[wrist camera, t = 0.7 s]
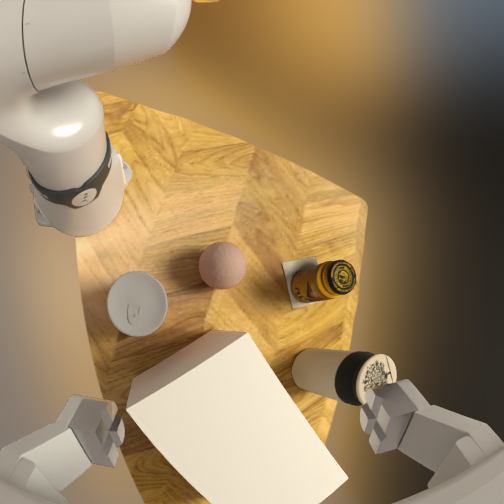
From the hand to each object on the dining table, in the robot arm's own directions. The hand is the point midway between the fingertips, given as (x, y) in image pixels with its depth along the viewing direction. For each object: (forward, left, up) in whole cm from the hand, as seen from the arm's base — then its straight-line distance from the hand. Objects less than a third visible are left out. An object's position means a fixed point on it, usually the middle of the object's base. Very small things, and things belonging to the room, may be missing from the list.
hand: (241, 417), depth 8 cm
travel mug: (+18, +18, -38) cm, 46 cm away
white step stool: (+15, -1, -38) cm, 41 cm away
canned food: (-7, -1, -38) cm, 39 cm away
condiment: (+4, +26, -38) cm, 47 cm away
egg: (-6, +13, -38) cm, 41 cm away
